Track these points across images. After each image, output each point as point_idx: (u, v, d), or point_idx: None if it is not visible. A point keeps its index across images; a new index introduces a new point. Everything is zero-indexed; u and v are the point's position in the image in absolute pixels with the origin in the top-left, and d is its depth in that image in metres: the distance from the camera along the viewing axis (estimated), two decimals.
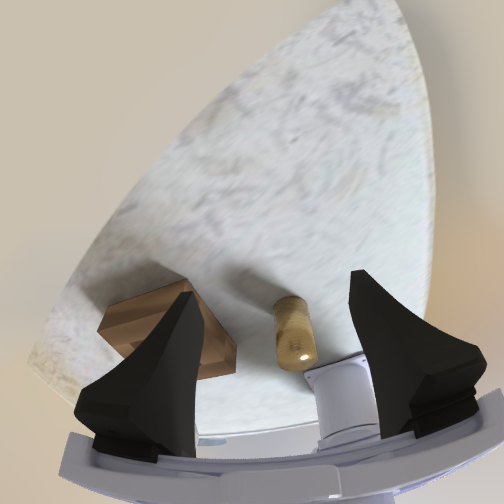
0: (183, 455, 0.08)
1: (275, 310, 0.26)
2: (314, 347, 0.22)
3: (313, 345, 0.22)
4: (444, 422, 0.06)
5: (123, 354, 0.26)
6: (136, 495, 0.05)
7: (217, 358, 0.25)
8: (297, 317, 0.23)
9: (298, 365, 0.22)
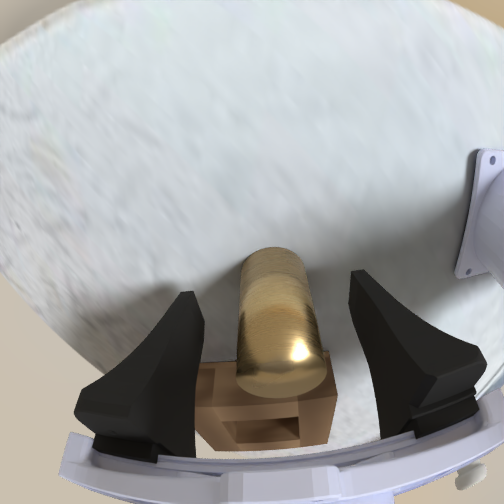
0: (183, 455, 0.08)
1: None
2: (267, 339, 0.09)
3: (262, 337, 0.09)
4: (444, 422, 0.06)
5: (255, 449, 0.21)
6: (136, 495, 0.05)
7: (290, 405, 0.15)
8: (241, 301, 0.12)
9: (299, 377, 0.09)
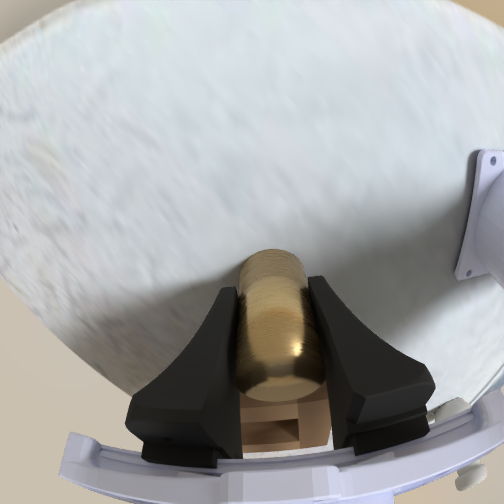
0: (234, 457, 0.08)
1: None
2: (266, 343, 0.09)
3: (261, 341, 0.09)
4: (386, 442, 0.06)
5: (255, 451, 0.21)
6: (136, 495, 0.05)
7: (290, 407, 0.15)
8: (240, 304, 0.12)
9: (299, 381, 0.09)
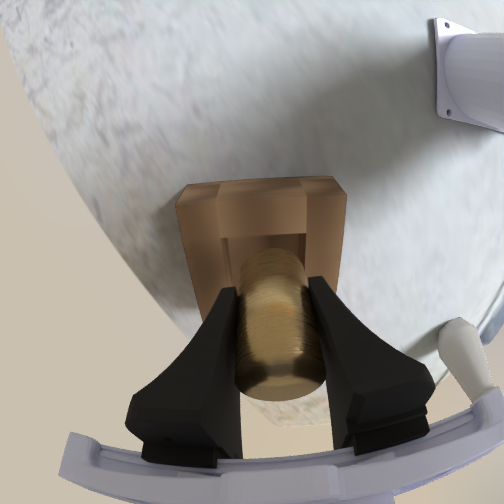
0: (234, 457, 0.08)
1: None
2: (266, 342, 0.09)
3: (261, 340, 0.09)
4: (386, 442, 0.06)
5: None
6: (136, 495, 0.05)
7: (299, 205, 0.16)
8: (239, 303, 0.12)
9: (299, 381, 0.09)
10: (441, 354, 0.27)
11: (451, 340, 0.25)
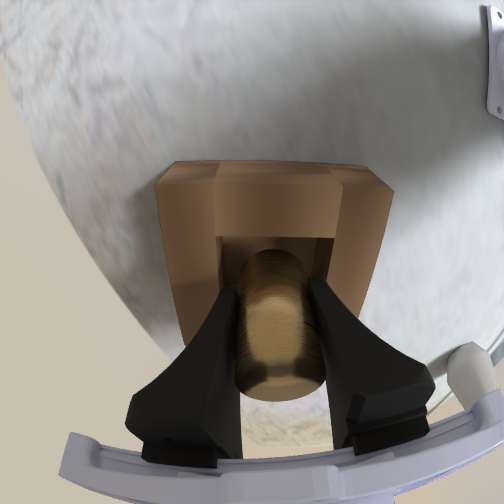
0: (234, 457, 0.08)
1: None
2: (266, 342, 0.09)
3: (261, 341, 0.09)
4: (386, 442, 0.06)
5: None
6: (136, 495, 0.05)
7: (331, 198, 0.11)
8: (239, 304, 0.12)
9: (299, 381, 0.09)
10: (451, 382, 0.22)
11: (464, 367, 0.21)
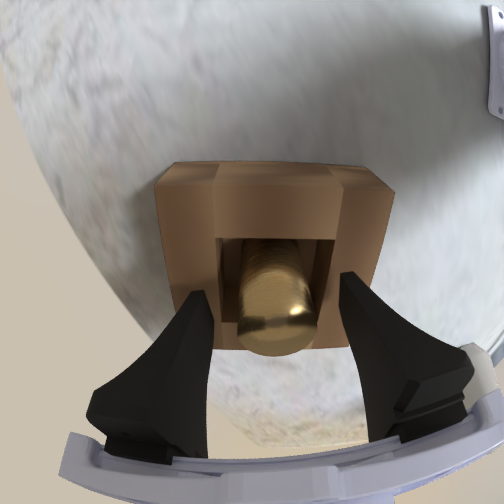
0: (196, 456, 0.08)
1: None
2: (264, 294, 0.11)
3: (260, 294, 0.11)
4: (430, 427, 0.06)
5: None
6: (136, 495, 0.05)
7: (332, 199, 0.11)
8: (241, 270, 0.14)
9: (293, 333, 0.11)
10: None
11: None
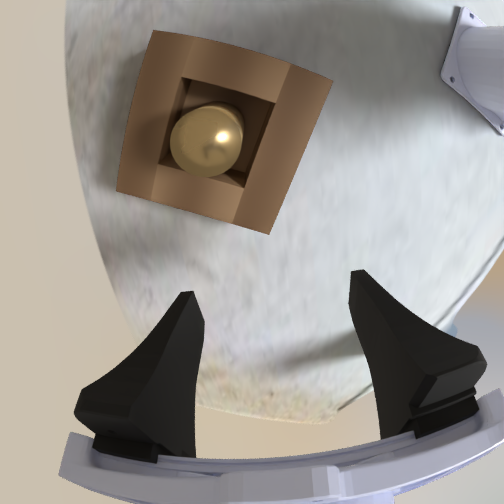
0: (183, 455, 0.08)
1: None
2: (204, 107, 0.12)
3: (201, 107, 0.12)
4: (444, 422, 0.06)
5: (172, 200, 0.17)
6: (136, 495, 0.05)
7: (279, 69, 0.13)
8: None
9: (218, 148, 0.12)
10: None
11: None
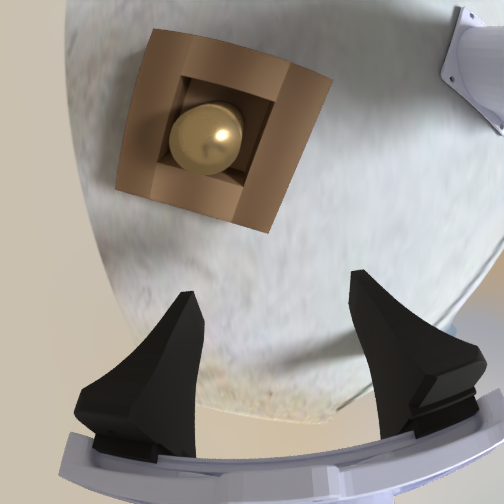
0: (183, 455, 0.08)
1: None
2: (203, 105, 0.11)
3: (200, 106, 0.12)
4: (444, 422, 0.06)
5: (171, 199, 0.17)
6: (136, 495, 0.05)
7: (279, 68, 0.12)
8: None
9: (217, 146, 0.12)
10: None
11: None
